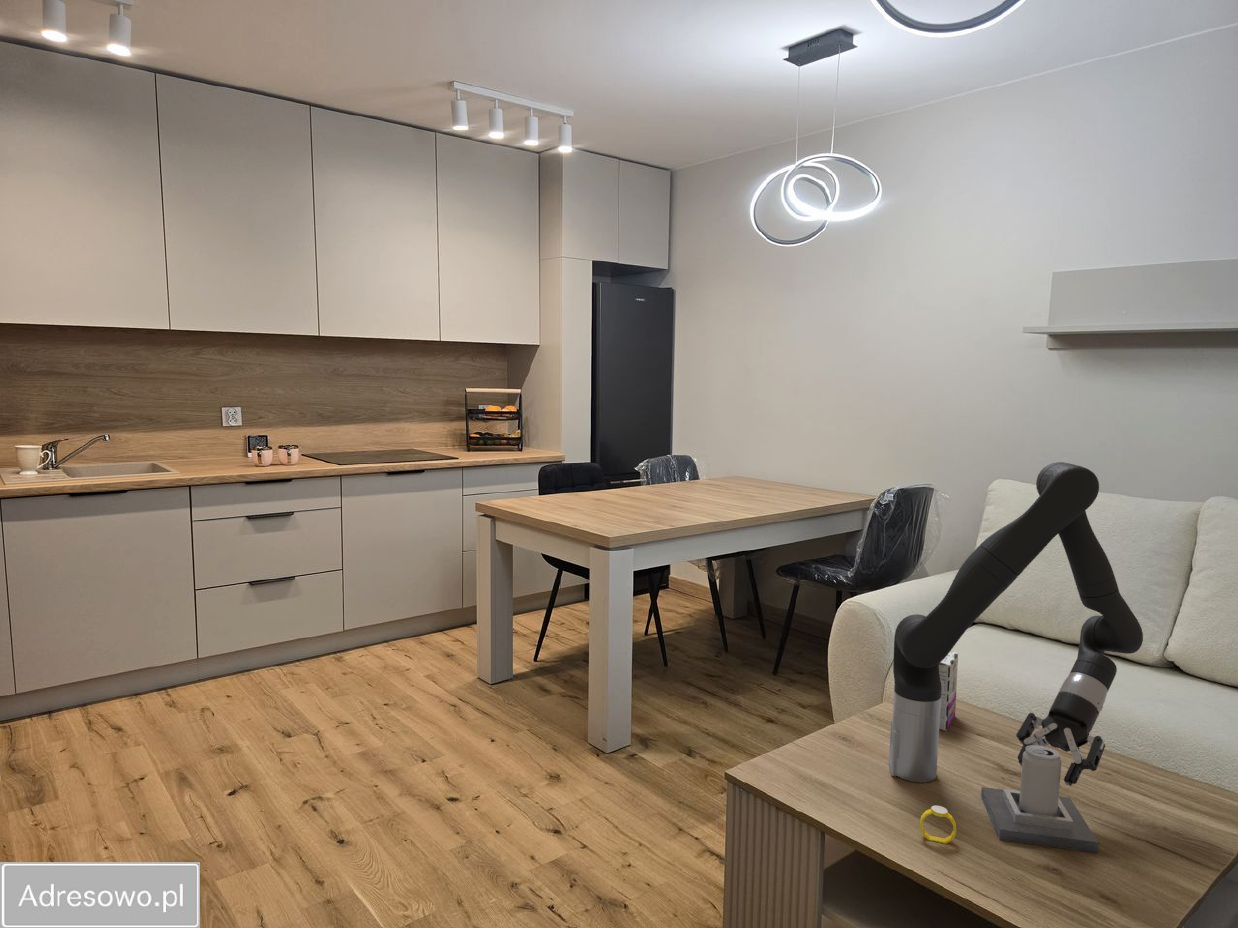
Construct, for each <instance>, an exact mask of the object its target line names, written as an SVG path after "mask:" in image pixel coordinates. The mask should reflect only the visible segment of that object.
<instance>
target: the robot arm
mask: <svg viewBox="0 0 1238 928" xmlns="http://www.w3.org/2000/svg"><path fill="white" fill-rule="evenodd" d="M1035 483H1036V491H1037V493H1038V495H1039V496H1038V498H1036V500H1035V501H1034V502H1033V503H1032V505H1031V506H1029V508H1028V509H1027V510H1026V511H1025V512H1023V514H1022V515H1020V516H1018V518H1016V519H1014V520H1013V521H1011V522H1010V523H1008V524H1006V525H1004V526H1003V527H1001V528H1000V529H998V530H996V531H994V532H993V533H992V534H991V535H990V536H988V537H986V538H985V539H984V540H983V541H982V542H981V543H980V544H979V545H978V546H977V547H976V548H975V549H974V550H973V552H971V554H970V555H969V556H968V557H967V558H966V559H965V561H964V562H963V564H962V565H961V566H960V567H959V569H958V571H957V572H956V574H955V576H954V577H953V580H952V582H951V584H950V587H949V589H948V590H947V593H946V594H945V595H944V597H943V598H942V600H941V601H940V602H939V603H938V604H937V606H936V607H934V609H933V610H931V611H930V612H929V613H928V614H927V615H923V614H917V613H916V614H910V615H908V616H906V617H904V618H903V619H901V621H899V623H898V625H897V626H896V628H895V631H894V640H893V664H892V666H893V667H892V669H893V673H892V674H893V679H894V686H893V687H894V689H893V690H894V691H893V705H892V706H893V707H892V708H893V710H892V721H890V737H889V756H888V766H889V770H890V775H891V777H896V776H898V777H897V778H899V777H900V779H902V780H905V781H908V782H913V783H930V782H933V781H934V780H936V778H937V771H938V757H939V738H940V736H939V735H940V730H939V724H940V708H941V691H942V685H941V680H940V674H939V663H940V662H941V661H942V660H943V659H944V658H945V657H946V656H947V655H948V653H949V652H950V651H952V649H953V648H954V647H955V645H956V644H957V643H958V642H959V640H960V639H961V638H962V637H963V635H964V633H965V632H966V631H967V630H968V629H969V628H970V626H971V625H972V624H973V623H974V622H975V621H976V620H977V619H978V618H980V616H981V615H982V614H983V613H984V612H985V611H986V609H988V608H989V607H990V606H991V605H992V604H993V603H994V602H995V601H996V600H997V598H999V597H1000V595H1002V594H1003V593H1004V592H1005V591H1006V590H1007V589H1008V588H1009V587H1010V586H1011V585H1012V584H1013V583H1014V581H1016V579H1018V577H1019V576H1020V575H1021V574H1023V572H1024V571H1025V569H1026V568H1027V567H1028V566H1029V565H1030V564H1031V563H1032V562H1033V561H1034V560H1035V559H1036V558H1037V556H1039V555H1040V554H1041V552H1042V551H1043V550H1044V549H1045V548H1046V547H1047V546H1048V544H1049V543H1051V541H1052V540H1053V539H1054V538H1055V537H1056V536H1057V535H1058V536H1059V539H1060V542H1061V543H1062V547H1063V549H1064V552H1065V554H1066V557H1067V560H1068V564H1069V567H1070V569H1071V572H1072V577H1073V579H1074V583H1075V585H1076V589H1077V592H1078V595H1079V596H1078V597H1079V599H1080V601H1081V604H1082V606H1084V607H1085V608H1087V609H1089V610H1092V611H1094V612H1097V613H1099V614H1100V615H1099V614H1098V615H1097V614H1096V615H1093V616H1090V617H1089V618H1087V620H1085V622H1083V624H1082V626H1081V630H1080V637H1079V643H1078V651H1077V658H1076V660H1075V661H1074V664H1073V666H1072V668H1071V670H1070V672H1069V673H1068V676H1067V677H1066V678H1065V679H1064V681H1063V683H1062V684H1061V686H1060V689H1059V691H1058V693H1057V694H1056V697H1055V698H1054V700H1053V703H1052V704H1051V707H1050V708H1049V711H1048V714H1047V716H1046V717H1044V718H1041V717H1039V716H1038V717H1037V716H1036V715H1035V713H1034V712H1029V713H1028V715H1027V716H1026V717H1025V720H1024V721H1023V722H1022V725H1021V726H1020V728H1019V730H1018V731H1017V732H1016V737H1017V739H1018V741H1019V743H1020V744H1021V745H1022V747H1021V748H1020V751H1019V753H1018V754H1017V760H1018V763H1019V765H1020V767H1022V759H1023V753H1024V752H1025V751H1026V750H1025V749H1026V747H1027V746H1029V745H1040V746H1045V747H1048V746H1049V745H1050V746H1051V747H1053V748H1057V749H1060V750H1062V751H1063V752H1066V753H1068V752H1070V753H1071V756H1072V758H1073V762H1071V764H1070V765H1069V767H1068V769H1067V771H1066V773H1065V776H1064V778H1063V782H1064V783H1065V785H1067V786H1069V787H1072V786H1073V785H1075V784H1077V782H1078V780H1079V778H1080V777H1081V774H1082V772H1083V770H1089V771H1092V772H1096V771H1097V769H1098V768H1099V764H1100V761H1101V758H1102V756H1103V754H1104V751H1105V748H1106V744H1105V741H1104V740H1103V738H1102V736H1100V735H1096V736H1093V735H1090V734H1091V732H1092V730H1093V728H1094V725H1095V723H1096V722H1097V719H1098V717H1099V715H1100V713H1101V711H1102V710H1103V708H1104V704H1105V701H1106V699H1107V695H1108V692H1109V690H1110V688H1111V686H1112V684H1113V681H1114V679H1115V678H1116V675H1117V672H1118V671H1117V670H1118V668H1117V665H1116V664H1115V662H1114V661H1113V660H1112V659H1111V658H1109V657H1108V656H1106V655H1105V654H1104V653H1105V652H1109V653H1116V654H1117V653H1118V654H1125V655H1126V654H1127V655H1129V654H1134V653H1137V652H1138V651H1139V650H1140V649H1141V647H1142V645H1143V641H1144V633H1143V629H1142V626H1141V624H1140V622H1139V620H1138V619H1137V617H1136V615H1135V614H1134V612H1133V611H1132V609H1131V608H1130V606H1129V604H1128V603H1127V602H1126V601H1125V598H1124V597H1123V596H1122V594H1121V593H1120V589H1119V586H1118V582H1117V579H1116V576H1115V573H1114V571H1113V567H1112V565H1111V563H1110V560H1109V557H1108V556H1107V554H1106V552H1105V550H1104V549H1103V547H1102V545H1101V543H1100V541H1099V540H1098V538H1097V536H1096V534H1095V533H1094V531H1093V528H1092V527H1091V524H1090V521H1089V518H1088V516H1087V511H1086V510H1088V509H1089V508H1090V507H1091V506H1092V505H1093V504H1094V502H1095V500H1096V499H1097V497H1098V495H1099V491H1100V482H1099V479H1098V476H1097V475H1096V474H1095V473H1094V472H1093V471H1091V470H1090V469H1089V468H1087V467H1084V466H1081V465H1078V464H1073V463H1068V462H1063V461H1061V462H1059V461H1058V462H1051V463H1049V464H1047V465H1046V466H1044V467H1043V468H1042V469H1041V470H1040V471H1039V473H1038V474H1037V477H1036V482H1035ZM1040 726H1041V727H1042V729H1039V727H1040ZM1035 729H1039V730H1038V731H1035ZM1034 731H1035V732H1034ZM1032 734H1033V735H1032ZM1043 737H1044V738H1043ZM1086 744H1088V745H1089V747H1090V749H1089V751H1088V752H1087V756H1086V758H1083V756H1082V752H1081V749H1080V748H1081V747H1082V746H1084V745H1086Z"/></svg>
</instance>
